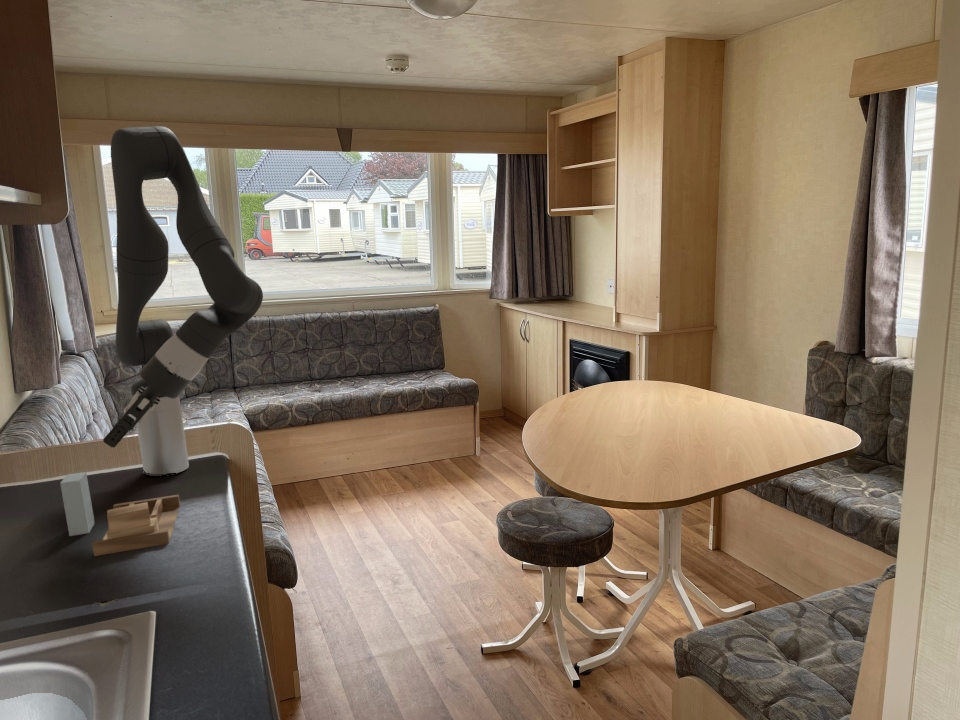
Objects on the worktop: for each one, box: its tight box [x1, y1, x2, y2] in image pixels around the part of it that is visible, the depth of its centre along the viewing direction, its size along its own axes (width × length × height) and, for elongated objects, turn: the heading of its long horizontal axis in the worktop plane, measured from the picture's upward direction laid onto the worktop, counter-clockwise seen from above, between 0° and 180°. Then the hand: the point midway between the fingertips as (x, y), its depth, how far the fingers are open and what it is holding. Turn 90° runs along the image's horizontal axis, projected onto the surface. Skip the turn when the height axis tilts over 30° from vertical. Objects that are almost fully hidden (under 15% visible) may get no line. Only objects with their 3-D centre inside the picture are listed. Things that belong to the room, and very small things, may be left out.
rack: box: [91, 494, 181, 557], centre depth 123 cm, size 18×11×3 cm, turn 17°
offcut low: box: [106, 517, 159, 539], centre depth 117 cm, size 4×7×3 cm, turn 107°
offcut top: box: [106, 502, 151, 533], centre depth 116 cm, size 3×6×3 cm, turn 117°
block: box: [60, 471, 95, 537], centre depth 123 cm, size 4×3×10 cm, turn 17°
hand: (113, 437), depth 123 cm, fingers open, 8 cm apart
